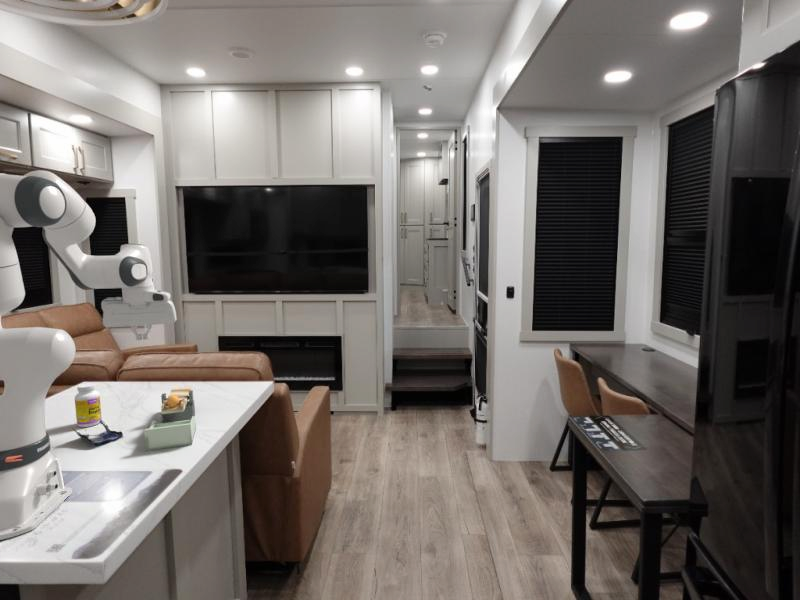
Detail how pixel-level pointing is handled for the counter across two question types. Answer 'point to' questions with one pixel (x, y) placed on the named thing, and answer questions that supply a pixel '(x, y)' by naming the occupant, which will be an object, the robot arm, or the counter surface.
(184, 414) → the fulcrum
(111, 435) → the snack package
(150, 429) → the dish
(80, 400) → the supplement bottle
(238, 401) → the counter surface
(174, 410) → the lever
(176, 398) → the ball
